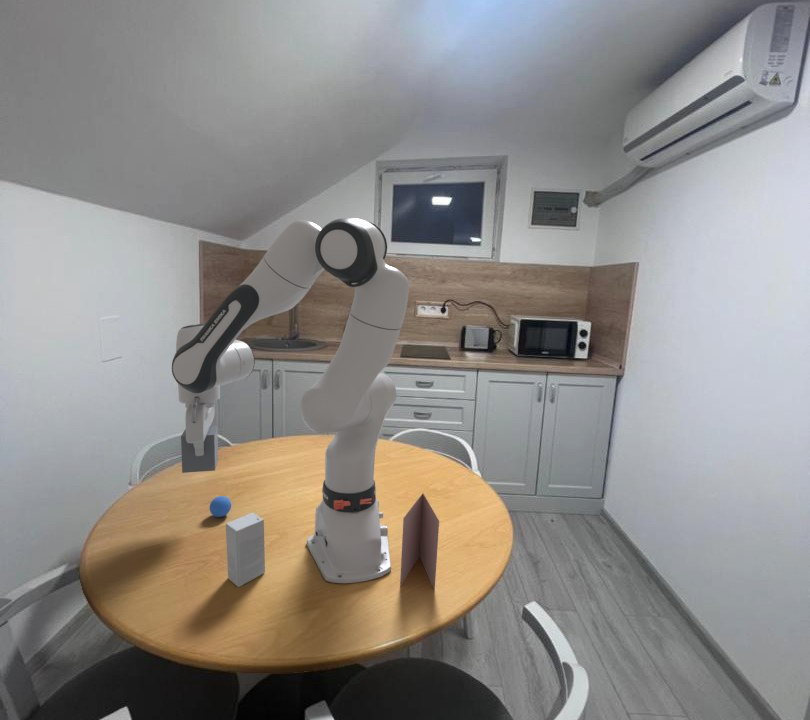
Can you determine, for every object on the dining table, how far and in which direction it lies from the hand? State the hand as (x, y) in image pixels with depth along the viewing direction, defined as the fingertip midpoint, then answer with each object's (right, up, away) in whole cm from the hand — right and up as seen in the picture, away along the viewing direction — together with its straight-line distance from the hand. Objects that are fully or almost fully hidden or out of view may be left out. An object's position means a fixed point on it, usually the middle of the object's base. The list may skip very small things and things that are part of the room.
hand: (202, 448), depth 104 cm
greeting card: (+52, -24, -14) cm, 59 cm away
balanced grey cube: (-1, -4, +1) cm, 4 cm away
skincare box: (+17, -22, -17) cm, 33 cm away
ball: (+3, -15, +4) cm, 16 cm away
